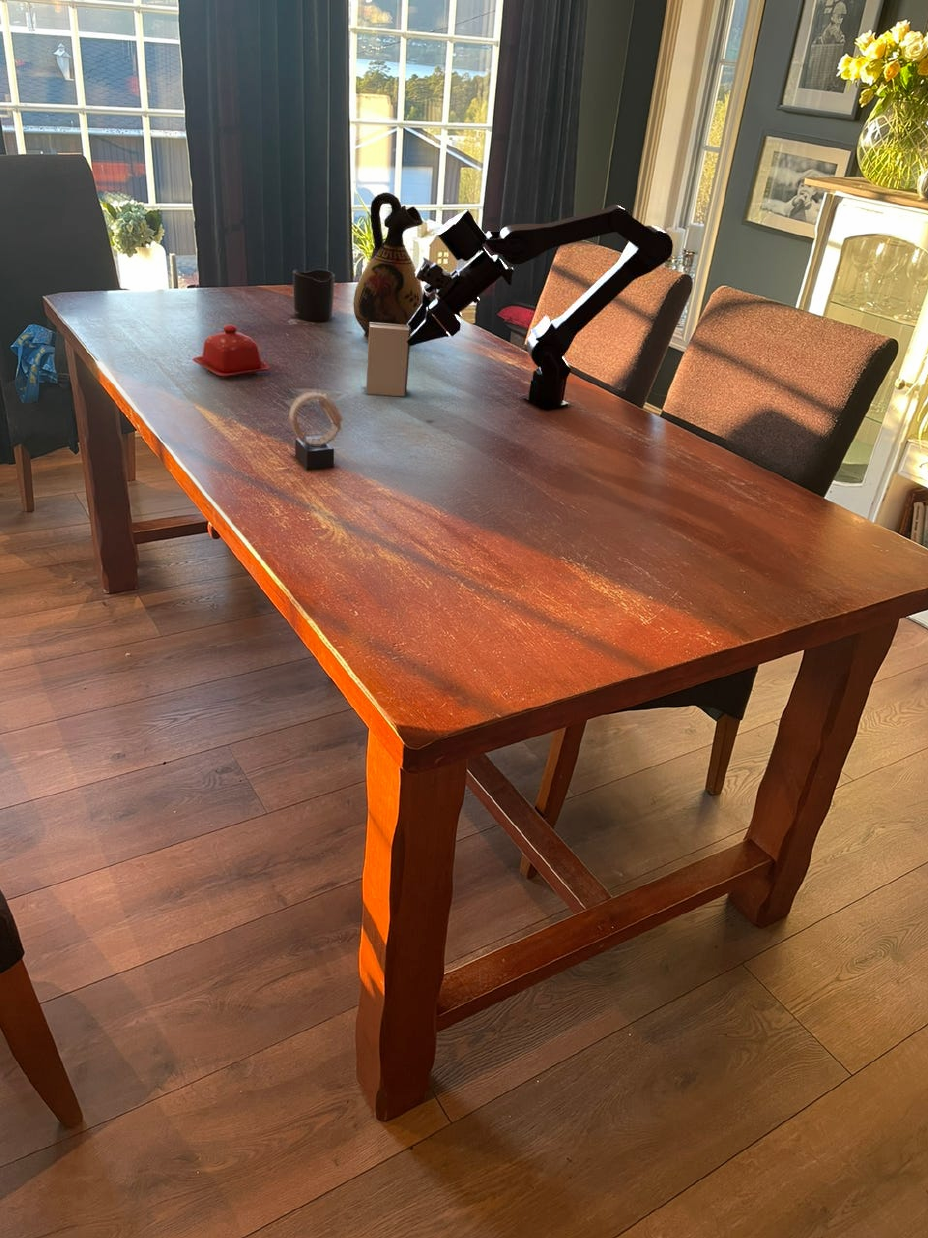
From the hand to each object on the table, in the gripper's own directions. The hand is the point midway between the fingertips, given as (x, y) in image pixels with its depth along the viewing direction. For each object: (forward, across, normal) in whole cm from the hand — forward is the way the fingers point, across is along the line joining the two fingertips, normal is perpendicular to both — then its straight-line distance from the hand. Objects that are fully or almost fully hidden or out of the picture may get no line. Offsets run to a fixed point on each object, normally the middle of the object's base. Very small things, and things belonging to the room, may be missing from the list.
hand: (407, 336), depth 174 cm
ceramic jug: (+10, -36, +6) cm, 38 cm away
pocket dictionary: (+10, 0, +5) cm, 11 cm away
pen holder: (+21, -51, -6) cm, 55 cm away
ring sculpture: (+19, +36, -3) cm, 41 cm away
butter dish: (+31, -7, -15) cm, 35 cm away
